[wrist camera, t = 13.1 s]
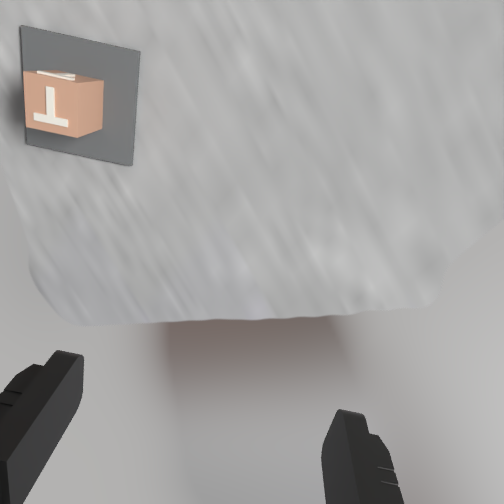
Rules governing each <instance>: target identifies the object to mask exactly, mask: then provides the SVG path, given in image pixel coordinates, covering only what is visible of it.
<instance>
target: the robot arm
mask: <svg viewBox="0 0 504 504" xmlns="http://www.w3.org/2000/svg"><path fill="white" fill-rule="evenodd" d="M83 370H84V357H83V356H82V355H79V354H75V353H69V352H65V351H60V350H57V351H56V352H54V354H53V355H52V356H51V357H50V359H49V360H48V361H47V362H46V364H45V365H44V366H41V365H36V364H33V365H31V366H29V367H28V368H26V369H25V370H23V371H22V372H20V373H18V374H17V375H16V376H15V377H14V378H13V379H12V381H11V382H10V383H9V384H8V385H7V386H6V388H5V389H4V391H3V392H2V393H1V394H0V504H23V502H24V501H25V499H26V497H27V496H28V494H29V492H30V490H31V489H32V487H33V485H34V483H35V482H36V480H37V478H38V477H39V475H40V473H41V472H42V470H43V468H44V466H45V465H46V463H47V461H48V459H49V458H50V456H51V454H52V453H53V451H54V449H55V447H56V446H57V444H58V442H59V440H60V439H61V437H62V435H63V434H64V432H65V430H66V428H67V427H68V425H69V423H70V422H71V420H72V418H73V416H74V415H75V413H76V411H77V409H78V407H79V404H80V401H81V398H82V393H83V372H84V371H83ZM321 461H322V471H323V481H324V489H325V499H326V504H404V501H403V498H402V494H401V491H400V488H399V487H398V481H397V478H396V474H395V473H394V467H393V463H392V460H391V456H390V453H389V451H388V449H387V448H386V446H385V445H384V443H383V442H382V440H381V439H380V437H379V436H378V435H373V434H369V431H368V427H367V423H366V419H365V417H364V415H363V414H360V413H356V412H351V411H346V410H341V409H339V410H338V411H337V412H336V414H335V417H334V419H333V421H332V424H331V426H330V428H329V431H328V433H327V435H326V438H325V440H324V443H323V447H322V456H321Z"/></svg>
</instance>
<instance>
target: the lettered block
mask: <svg viewBox="0 0 504 504" xmlns="http://www.w3.org/2000/svg"><path fill="white" fill-rule="evenodd" d="M23 79H24V98H25V117H26V127H29V128H34V129H38V130H43V131H48V132H52V133H57V134H62V135H66V136H71V137H76V138H78V137H81V136H84V135H87V134H89V133H92V132H95V131H97V130H100V129H102V120H103V88H104V80H99V79H95V78H90V77H86V76H81V75H76V74H72V73H67V72H63V71H58V70H43V71H23Z"/></svg>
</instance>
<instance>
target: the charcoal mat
mask: <svg viewBox="0 0 504 504" xmlns="http://www.w3.org/2000/svg"><path fill="white" fill-rule="evenodd" d="M21 41H22V60H23V71H43V70H58V71H63V72H67V73H72V74H76V75H81V76H86V77H90V78H95V79H99V80H104V88H103V120H102V129H100V130H97V131H95V132H92V133H89V134H87V135H84V136H81V137H78V138H76V137H71V136H66V135H62V134H57V133H52V132H48V131H43V130H38V129H34V128H29V127H26V138H27V144H29V145H34V146H38V147H43V148H48V149H52V150H57V151H62V152H67V153H71V154H76V155H81V156H85V157H90V158H95V159H99V160H104V161H109V162H114V163H118V164H123V165H128V166H132V165H133V153H134V138H135V123H136V108H137V93H138V79H139V64H140V51H136V50H131V49H127V48H122V47H118V46H113V45H109V44H105V43H100V42H96V41H91V40H87V39H82V38H78V37H73V36H69V35H64V34H60V33H55V32H51V31H46V30H42V29H37V28H33V27H28V26H24V25H21ZM23 80H24V79H23ZM24 99H25V98H24ZM25 119H26V117H25Z"/></svg>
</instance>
